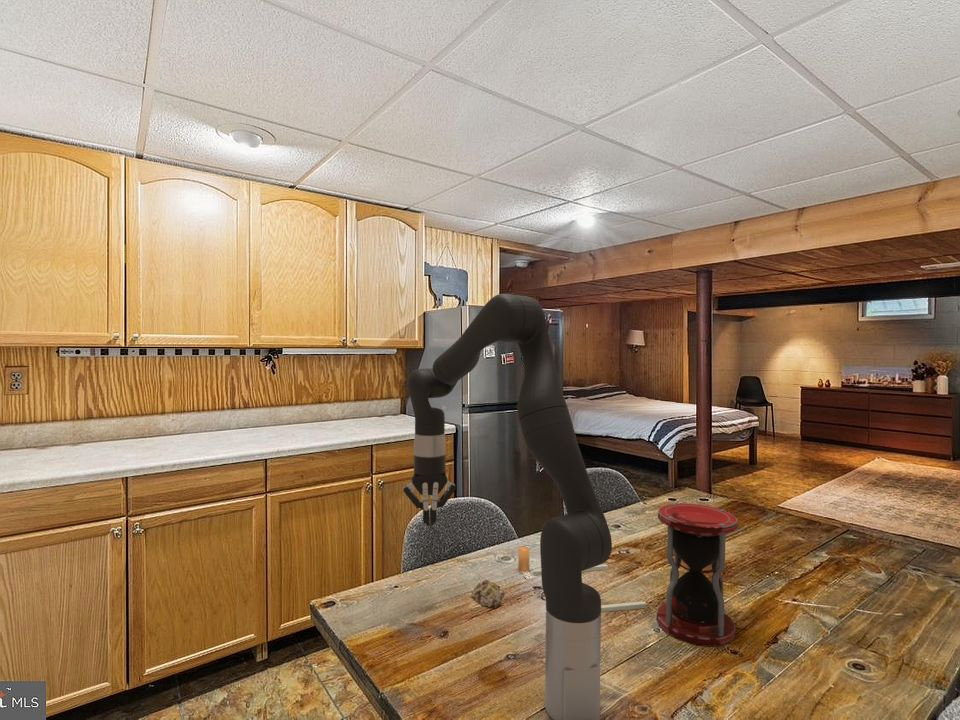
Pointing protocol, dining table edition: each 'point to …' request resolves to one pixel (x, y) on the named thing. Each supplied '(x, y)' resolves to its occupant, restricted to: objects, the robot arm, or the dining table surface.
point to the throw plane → (524, 567)
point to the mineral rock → (488, 594)
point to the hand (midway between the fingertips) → (429, 524)
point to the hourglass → (696, 574)
